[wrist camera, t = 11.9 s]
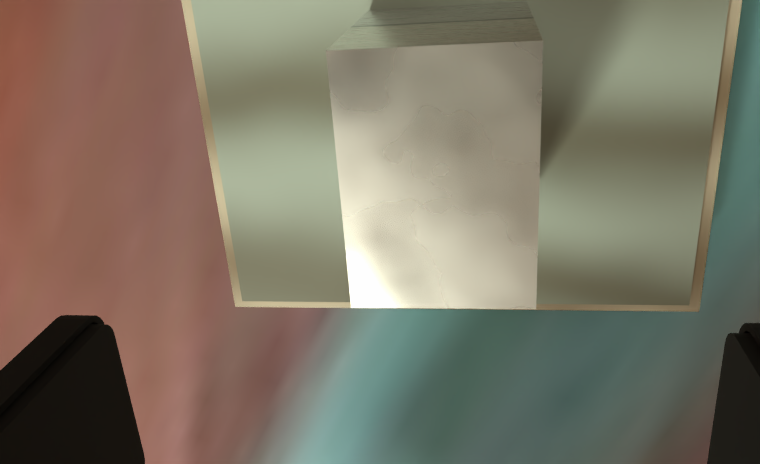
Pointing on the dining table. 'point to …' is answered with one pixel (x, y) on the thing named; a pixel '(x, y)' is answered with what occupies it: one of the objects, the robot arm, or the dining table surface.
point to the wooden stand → (557, 150)
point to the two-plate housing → (439, 155)
